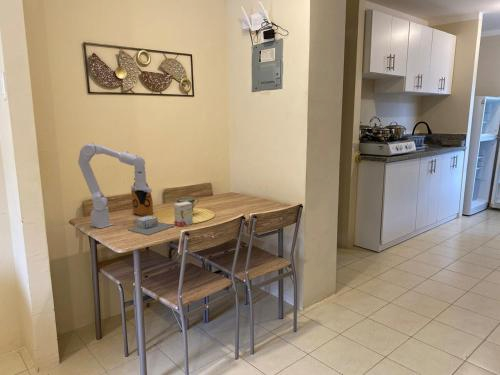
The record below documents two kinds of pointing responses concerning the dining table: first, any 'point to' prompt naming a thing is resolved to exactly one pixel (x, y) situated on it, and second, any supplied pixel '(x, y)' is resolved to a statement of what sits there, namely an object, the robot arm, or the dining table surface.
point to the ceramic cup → (188, 199)
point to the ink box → (183, 214)
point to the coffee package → (142, 204)
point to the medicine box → (146, 222)
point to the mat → (151, 229)
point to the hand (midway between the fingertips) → (142, 204)
